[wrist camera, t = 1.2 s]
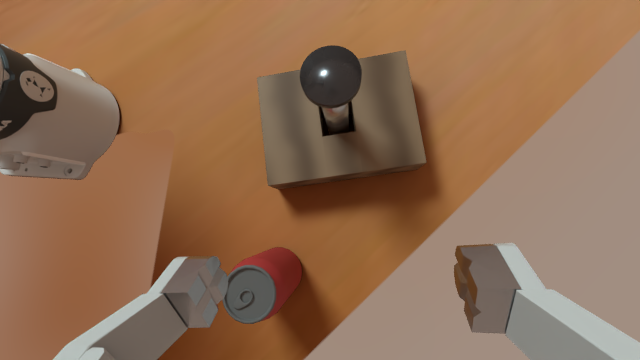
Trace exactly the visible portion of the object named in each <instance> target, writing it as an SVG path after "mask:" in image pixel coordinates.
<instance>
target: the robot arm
mask: <svg viewBox="0 0 640 360" xmlns="http://www.w3.org/2000/svg"><path fill="white" fill-rule="evenodd" d="M118 126H119V108H118V104H117V102H116V100H115V98H114V96H113V95H112V93H111V92H110V91H109V90H108V89H106V88H105V87H103V86H102V85H99V84H97V83H95V82H94V81H93V80H92V79H91V77H90V76H89V75H88V74H87V73H86V72H85V71H83V70H80V69H77V68H76V69H73V70H68V69H66V68H64V67H61V66H59V65H57V64H55V63H52V62H50V61H47V60H45V59H43V58H40V57H38V56H36V55H33V54H28V53H27V54H24V55H22V54H20V53H18V52H16V51H15V50H13V49H11V48H9V47H7V46H5V45H3V44H0V171H1V173H2V174H5V175H11V176H22V177H41V178H57V179H75V180H81V179H83V178H85V177H86V175H87V174H88V172H89V171H90V169H91V167H92V165H93V163H94V162H95V161H96V160H97V159H98V158H99V157H101V156H102V155H103V154H104V153H105V152H106V151H107V149H108V148H109V147H110V145H111V144H112V142H113V140H114V138H115V136H116V134H117V130H118ZM455 256H456V259H457V261H458V263H457V264H456V265H455V266H454V277H455V284H456V288H457V291H458V294H459V297H460V298H461V299H463V300H464V301H465V306H464V312H465V314H466V317H467V320H468V323H469V326H470V328H471V331H472V332H482V333H505V334H506V336H507V337H508V338H509V339H510V340H511V341H512V342H513V343H514V344H515V345H516V346H517V347H518V348H519V349H520V350H521V351H522V352H523V353H524V354H525V355H526V356H527V357H528V358H529V359H530V360H640V343H639V342H638V341H636V340H634V339H633V338H631V337H630V336H627V335H626V334H625V333H623V332H621V331H620V330H618V329H617V328H615V327H613V326H612V325H610V324H608V323H607V322H605V321H603V320H602V319H600V318H599V317H597V316H595V315H594V314H592V313H590V312H589V311H587V310H586V309H584V308H582V307H581V306H579V305H577V304H576V303H574V302H572V301H571V300H569V299H568V298H566V297H564V296H563V295H561V294H560V293H557V292H556V291H555V290H547V289H546V288H545V286H544V285H543V284H542V282H541V281H540V279H539V278H538V276H537V275H536V274H535V272H534V271H533V269H532V268H531V266H530V265H529V263H528V262H527V260H526V259H525V257H524V256H523V254H522V253H521V252H520V250H519V249H518V247H517V246H516V245H515V244H513V243H503V244H484V245H464V246H457V248H456V252H455ZM220 264H221V263H220V261H219V259H218V258H217V257H215V256H190V257H177V258H175V259H173V260H172V262H171V263H170V264H169V266H168V267H167V268H166V269H165V271H164V272H163V273H162V274H161V276H160V277H159V278H158V280H157V281H156V282H155V283H154V285H153V286H152V287H151V288H150V290H149V291H148V292H147V294H142V295H140V296H139V297H137V298H136V299H134V300H133V301H131V302H130V303H128V304H127V305H125V306H124V307H122V308H121V309H119V310H118V311H116V312H115V313H113V314H112V315H110V316H109V317H107V318H106V319H104V320H103V321H101V322H100V323H98V324H97V325H96V326H94V327H92V328H91V329H89V330H88V331H86V332H85V333H83V334H82V335H80V336H79V337H77V338H76V339H74V340H73V341H71V342H70V343H68V344H67V345H66V346H65V347H64V348H63V349H62V350H61V351H60V352H59V354H58V355H57V356H56V357H55V358H54V359H53V360H157V359H158V358H159V357H160V356H161V355H162V354H163V353H164V352H165V351H166V350H167V349H168V348H169V347H170V346H171V345H172V344H173V343H174V342H175V341H176V340H177V339H178V338H179V337H180V336H181V335H182V334H183V333H184V332H185V331H186V330H187V329H188V328H201V327H210V325H211V323H212V321H213V319H214V317H215V315H216V313H217V311H218V306H217V304H218V303H219V302H220V301H221V300H222V299H224V297H225V295H226V292H227V289H228V277H227V275H226V273H225V272H224V271H223V270H222V269H220V268H219V267H220Z"/></svg>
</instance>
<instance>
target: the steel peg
mask: <svg viewBox="0 0 640 360" xmlns="http://www.w3.org/2000/svg"><path fill="white" fill-rule="evenodd" d="M361 78H362V69H361V65H360V62H359V60H358V59H357V57H356V56H355V55H354V54H353V53H352V52H351V51H349V50H348V49H346V48H343V47H340V46H325V47H321V48H319V49H317V50H315V51H314V52H312V53H311V54H310V55H309V56H308V57H307V58H306V59H305V61H304V62H303V64H302V67H301V70H300V83H301V86H302V89H303V91H304V94H305V95H306V97H307V98H308V99H309V100H310V101H311V102H312V103H313V104H315V105H317V106H319V107H322V109H323V113H324V116H325V120H326V124H327V127H328V131H329V134H330V135H336V134H342V133H349V114H348V103H349V102H350V101H351V100H352V99H353V98H354V97H355V96H356V94H357V93H358V91H359V89H360V86H361Z"/></svg>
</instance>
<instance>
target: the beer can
mask: <svg viewBox="0 0 640 360" xmlns="http://www.w3.org/2000/svg"><path fill="white" fill-rule="evenodd" d="M301 277H302V267H301V264H300V261H299V259H298V258H297V256H296V255H295V254H294V253H293V252H291V251H290V250H288V249H285V248H272V249H269V250H267V251H264V252H262V253H259V254H257V255H254V256H252V257H249V258H247V259H244V260H243V261H241V262H240V263H239V264H237V265H236V266H235V267H234V269H233V270H232V271H231V273H230V274H229V276H228V289H227V292H226V295H225V297H224V299H222V300H223V304H224V307H225V309H226V311H227V312H228V314H229V315H230V316H231V317H232V318H234V319H235V320H236V321H239V322H241V323H245V324H253V323H256V322H259V321H262V320H266V319H268V318H270V317H271V316H273V315H274V314H276V313H277V312H278V311H279V309H280V308H281V307H282V306H283V304H284V303H285V302H286V300H287V299H288V298H289V297H290V295H291V294H292V293H293V291H294V290H295V289H296V287H297V286H298V285H299V283H300V280H301Z"/></svg>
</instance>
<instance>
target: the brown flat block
mask: <svg viewBox="0 0 640 360" xmlns="http://www.w3.org/2000/svg"><path fill="white" fill-rule="evenodd" d="M358 60H359V62H360V65H361V69H362V78H361V86H360V89H359V91H358V93H357V94H356V96H355V97H354V98H353V99H352V100H351V101H350V102H349V103H348V114H349V113H352V120H353V126H354V132H349V133H342V134H336V135H330V136H325V135H324V128H323V121H322V118H325V116H324V113H323V109H322V107H319V106H317V105H315V104H313V103H312V102H311V101H310V100H309V99H308V98H307V97H306V95H305V94H304V91H303V89H302V86H301V83H300V70H296V71H291V72H285V73H280V74H274V75H269V76H263V77H258V78H257V82H258V92H259V102H260V111H261V121H262V131H263V141H264V151H265V161H266V171H267V181H268V186H271V187H273V188H276V189H284V188H291V187H298V186H305V185H312V184H319V183H326V182H333V181H340V180H347V179H354V178H361V177H368V176H375V175H382V174H389V173H396V172H403V171H410V170H417V169H419V168H420V167H421V166H423V165H424V164H425V163H427V162H426V157H425V152H424V146H423V141H422V136H421V130H420V125H419V120H418V114H417V109H416V104H415V98H414V93H413V88H412V82H411V77H410V72H409V67H408V61H407V56H406V51H399V52H394V53H388V54H383V55H378V56H372V57H367V58H361V59H358Z"/></svg>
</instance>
